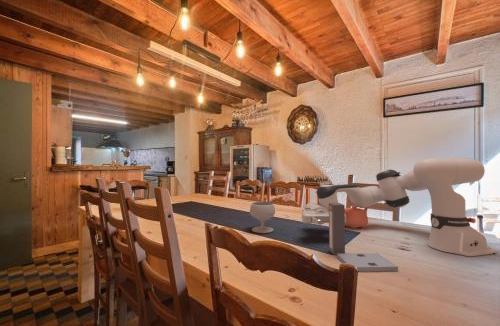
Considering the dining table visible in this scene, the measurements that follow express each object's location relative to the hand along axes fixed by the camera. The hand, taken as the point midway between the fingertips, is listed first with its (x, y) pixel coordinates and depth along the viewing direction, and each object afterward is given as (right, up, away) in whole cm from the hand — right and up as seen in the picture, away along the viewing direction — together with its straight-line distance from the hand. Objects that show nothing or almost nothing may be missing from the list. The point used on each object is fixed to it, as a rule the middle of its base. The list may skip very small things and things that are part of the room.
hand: (329, 221), depth 101 cm
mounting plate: (+7, -11, -18) cm, 22 cm away
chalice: (-28, -12, +25) cm, 40 cm away
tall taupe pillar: (+1, -11, -7) cm, 13 cm away
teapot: (+26, -11, +32) cm, 43 cm away
